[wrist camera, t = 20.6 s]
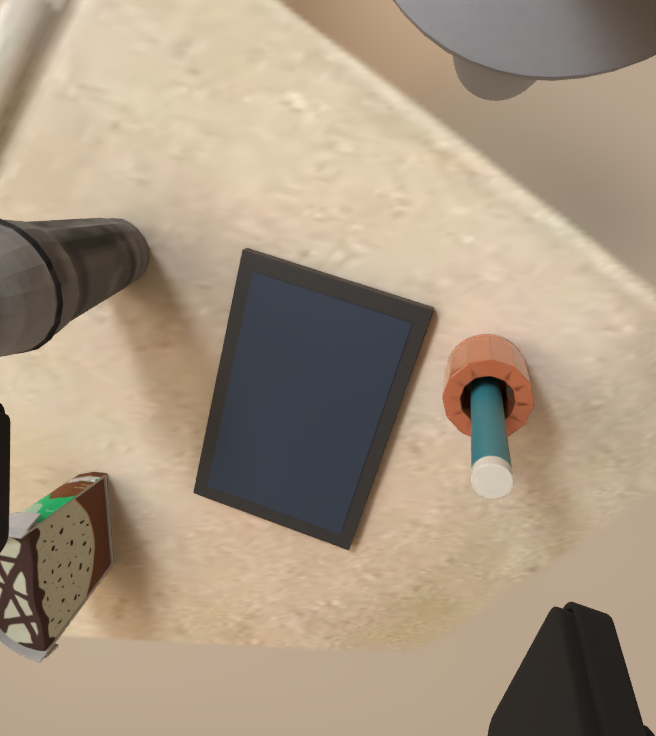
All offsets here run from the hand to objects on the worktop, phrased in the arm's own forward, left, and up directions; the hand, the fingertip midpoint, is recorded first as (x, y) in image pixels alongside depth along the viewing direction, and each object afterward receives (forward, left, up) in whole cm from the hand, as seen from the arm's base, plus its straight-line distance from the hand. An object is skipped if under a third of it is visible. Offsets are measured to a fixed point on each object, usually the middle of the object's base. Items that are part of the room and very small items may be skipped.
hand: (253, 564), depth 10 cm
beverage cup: (+6, -20, -30) cm, 36 cm away
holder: (+6, +7, -30) cm, 31 cm away
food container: (+30, -21, -30) cm, 47 cm away
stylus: (+6, +7, -29) cm, 31 cm away
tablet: (+13, -4, -30) cm, 33 cm away
